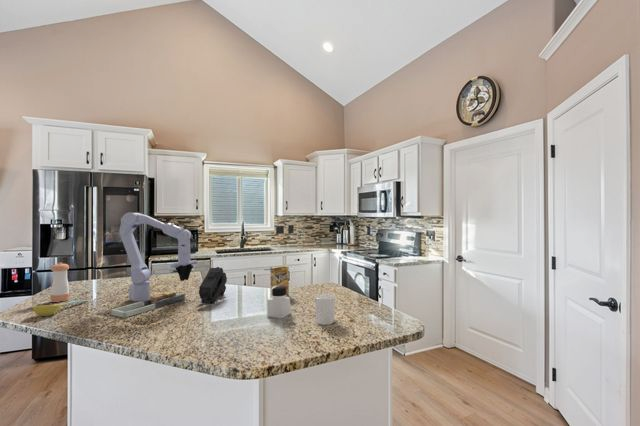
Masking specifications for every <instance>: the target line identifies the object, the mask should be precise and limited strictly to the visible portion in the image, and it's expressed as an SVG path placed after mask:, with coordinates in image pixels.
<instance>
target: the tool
mask: <svg viewBox="0 0 640 426" xmlns="http://www.w3.org/2000/svg"><path fill="white" fill-rule="evenodd" d="M227 281H228V278H227V274H226V272H224V269H223V267H219V266H217V267H210V268H209V270H208V271H207V273H206V274H205V277H204V278H203V279H202V282H201V284H200V286H199V289H198V295H199V298H200V299H201V300H200V301H201V303H202V304H205V303H210V304H216V303H217V300H218V299H219V297H220V296H224V295H225V292H226V289H227V287H226V284H227Z"/></svg>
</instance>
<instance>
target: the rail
mask: <svg viewBox="0 0 640 426" xmlns="http://www.w3.org/2000/svg"><path fill="white" fill-rule="evenodd" d="M186 300H187V298H186V294H185V293H180V294H177V292H175V296H173V297H169V298H166V299H162V300H158V301H155V302H153V304H155V309H159V308H163V307H166V306H168V305H172V304H176V303H179V302H183V301H186ZM142 302H143V306H142V307H145V306H148V305H150V299H147V300H143V301H142Z"/></svg>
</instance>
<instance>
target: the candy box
mask: <svg viewBox="0 0 640 426" xmlns="http://www.w3.org/2000/svg"><path fill="white" fill-rule="evenodd" d="M269 272H270V274H269V275H270V298H272V288H273V287H275V286H284V287H285V288H286V297H289V295H290V294H289V293H290V292H289V291H290V280H289V279H290V278H289V275H290V274H289V273H290V272H289V266H288V265H279V266H271V267H270V271H269Z"/></svg>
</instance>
